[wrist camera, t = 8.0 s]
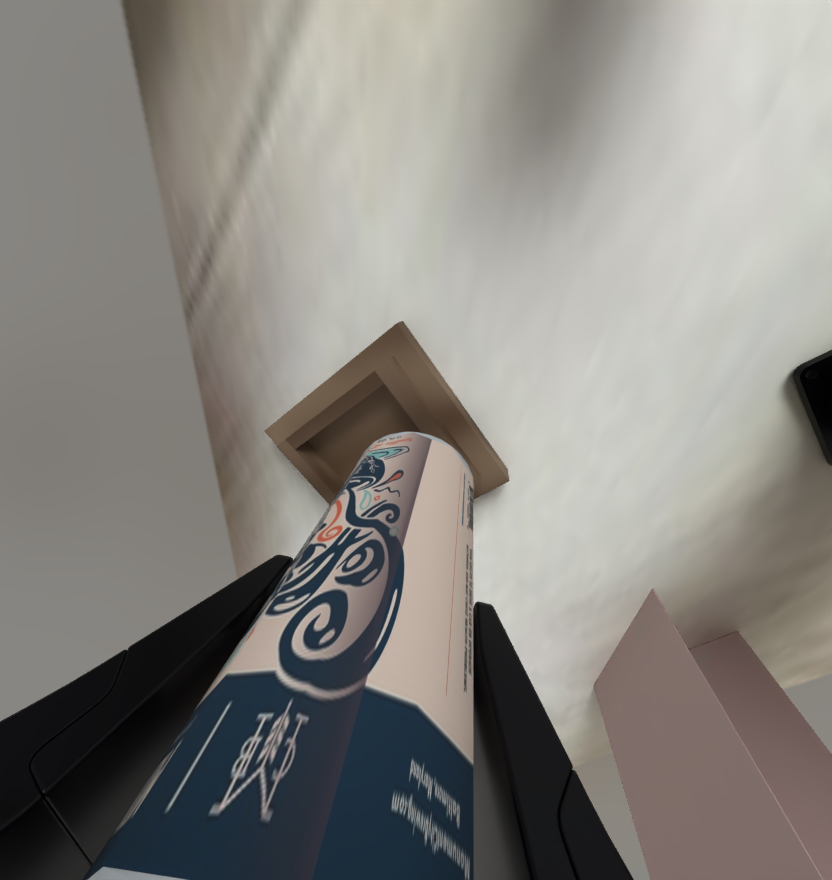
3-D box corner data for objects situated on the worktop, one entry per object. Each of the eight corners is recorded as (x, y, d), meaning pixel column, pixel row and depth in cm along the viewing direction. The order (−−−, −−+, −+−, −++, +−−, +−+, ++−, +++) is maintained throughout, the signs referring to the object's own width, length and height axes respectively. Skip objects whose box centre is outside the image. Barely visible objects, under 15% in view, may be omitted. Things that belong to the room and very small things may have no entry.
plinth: (507, 468, 21) (511, 494, 19) (377, 536, 25) (365, 566, 23) (402, 320, 19) (390, 326, 16) (276, 422, 23) (249, 440, 20)
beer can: (402, 401, 12) (-64, 1139, 2) (500, 477, 13) (629, 1366, 2) (337, 484, 14) (-69, 1071, 4) (425, 546, 15) (303, 1202, 4)
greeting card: (600, 691, 28) (713, 1059, 15) (541, 641, 27) (605, 993, 14) (744, 638, 24) (1101, 1102, 10) (682, 574, 22) (992, 1006, 9)
